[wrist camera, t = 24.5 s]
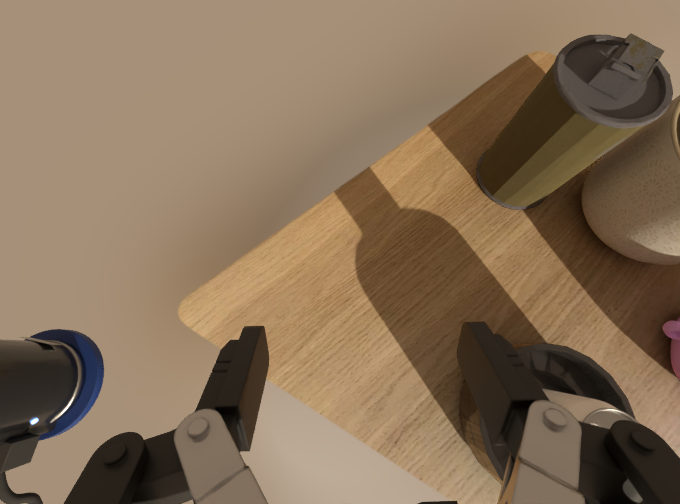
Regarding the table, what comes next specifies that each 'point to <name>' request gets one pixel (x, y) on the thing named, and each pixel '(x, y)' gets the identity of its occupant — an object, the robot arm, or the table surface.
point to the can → (588, 409)
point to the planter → (639, 193)
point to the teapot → (674, 343)
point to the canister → (575, 117)
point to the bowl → (550, 373)
